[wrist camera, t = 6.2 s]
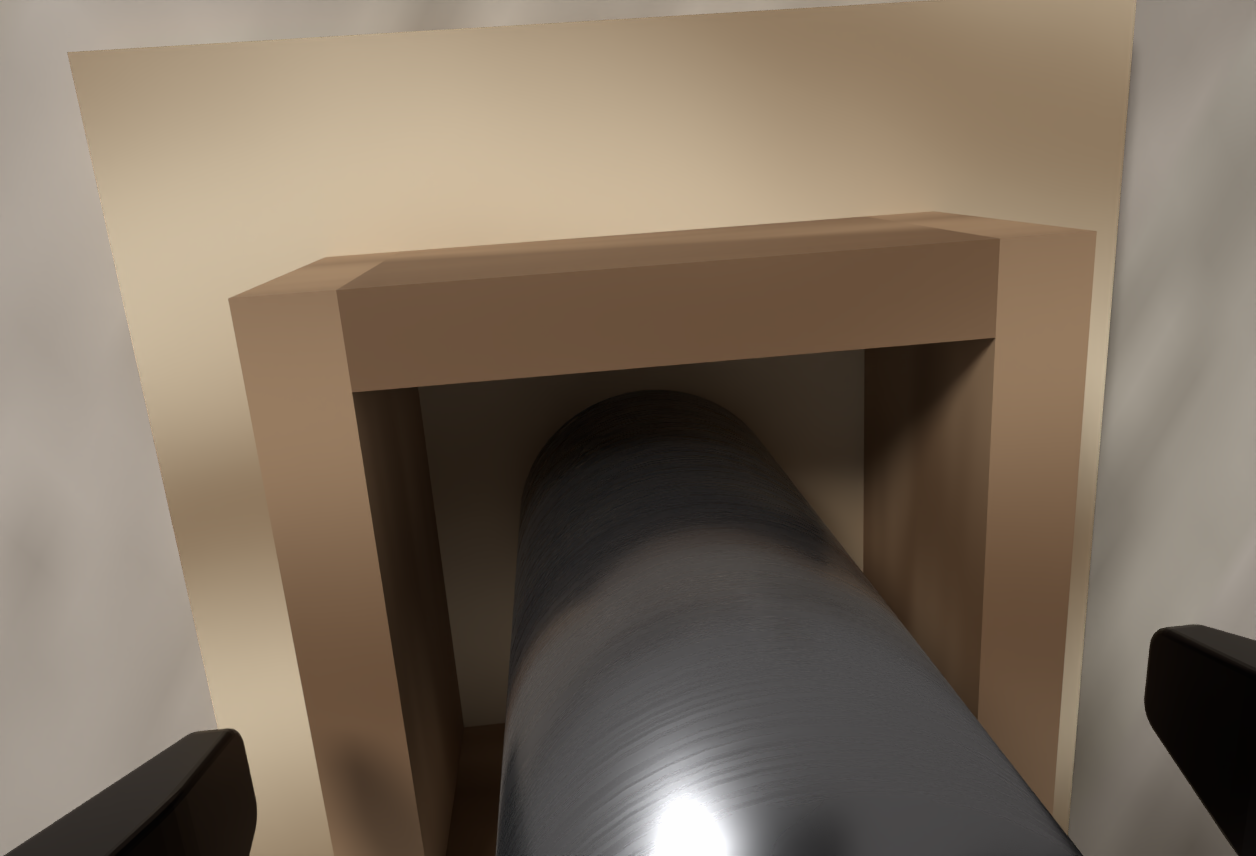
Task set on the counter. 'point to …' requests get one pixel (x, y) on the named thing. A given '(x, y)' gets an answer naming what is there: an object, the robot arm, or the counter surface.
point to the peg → (724, 667)
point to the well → (607, 346)
